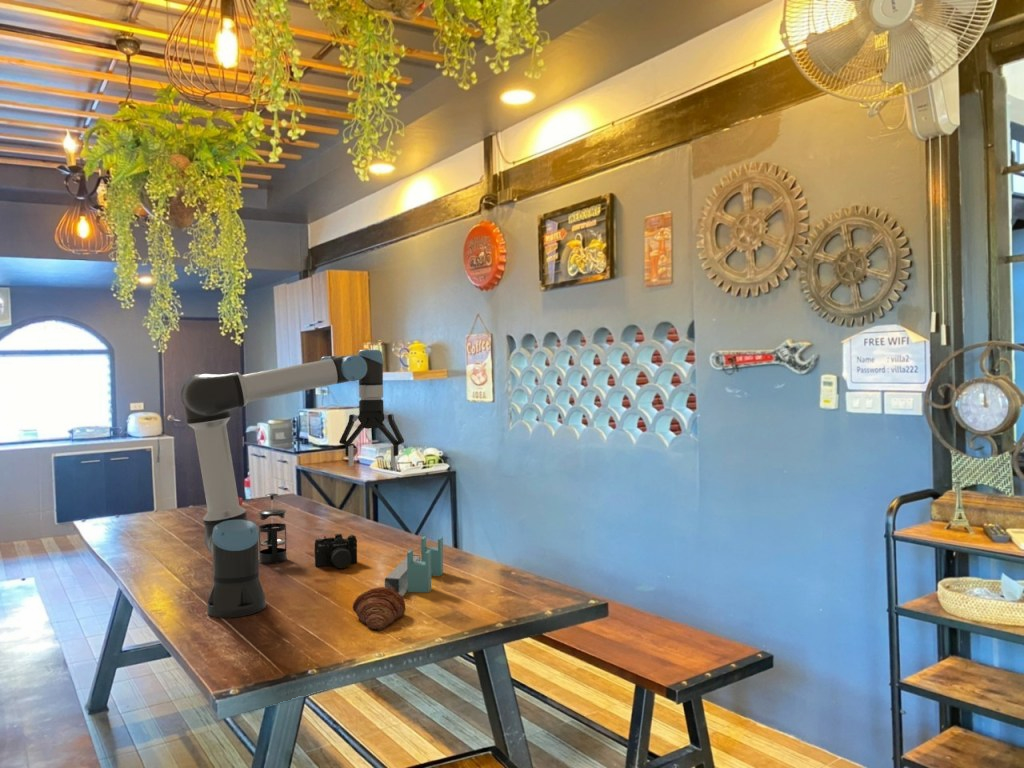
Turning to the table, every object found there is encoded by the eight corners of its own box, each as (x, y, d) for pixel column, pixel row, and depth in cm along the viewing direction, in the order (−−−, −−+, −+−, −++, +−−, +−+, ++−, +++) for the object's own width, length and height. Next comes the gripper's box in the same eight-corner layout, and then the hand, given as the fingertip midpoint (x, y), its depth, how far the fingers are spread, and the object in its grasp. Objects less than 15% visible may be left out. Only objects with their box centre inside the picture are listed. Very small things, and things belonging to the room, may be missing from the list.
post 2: (440, 575, 237) (440, 539, 236) (421, 575, 237) (421, 539, 237) (443, 572, 241) (442, 536, 240) (424, 572, 241) (423, 536, 241)
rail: (398, 592, 217) (398, 579, 216) (385, 592, 217) (384, 578, 217) (420, 567, 244) (420, 555, 244) (408, 567, 245) (408, 555, 245)
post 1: (428, 592, 219) (428, 553, 218) (407, 592, 219) (407, 552, 219) (431, 588, 223) (430, 549, 222) (410, 588, 223) (410, 549, 223)
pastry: (423, 618, 197) (423, 587, 197) (376, 633, 185) (376, 601, 185) (383, 605, 208) (383, 576, 208) (336, 619, 197) (336, 588, 197)
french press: (289, 562, 256) (288, 495, 255) (260, 565, 252) (259, 497, 251) (284, 554, 266) (283, 490, 266) (256, 558, 262) (255, 492, 262)
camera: (316, 572, 242) (315, 541, 242) (314, 564, 253) (313, 535, 252) (359, 568, 247) (359, 538, 247) (356, 561, 257) (355, 531, 257)
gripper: (412, 398, 238) (413, 465, 239) (336, 398, 241) (337, 464, 241) (407, 399, 231) (408, 468, 231) (328, 399, 233) (329, 467, 234)
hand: (372, 466), depth 236 cm, fingers open, 13 cm apart
